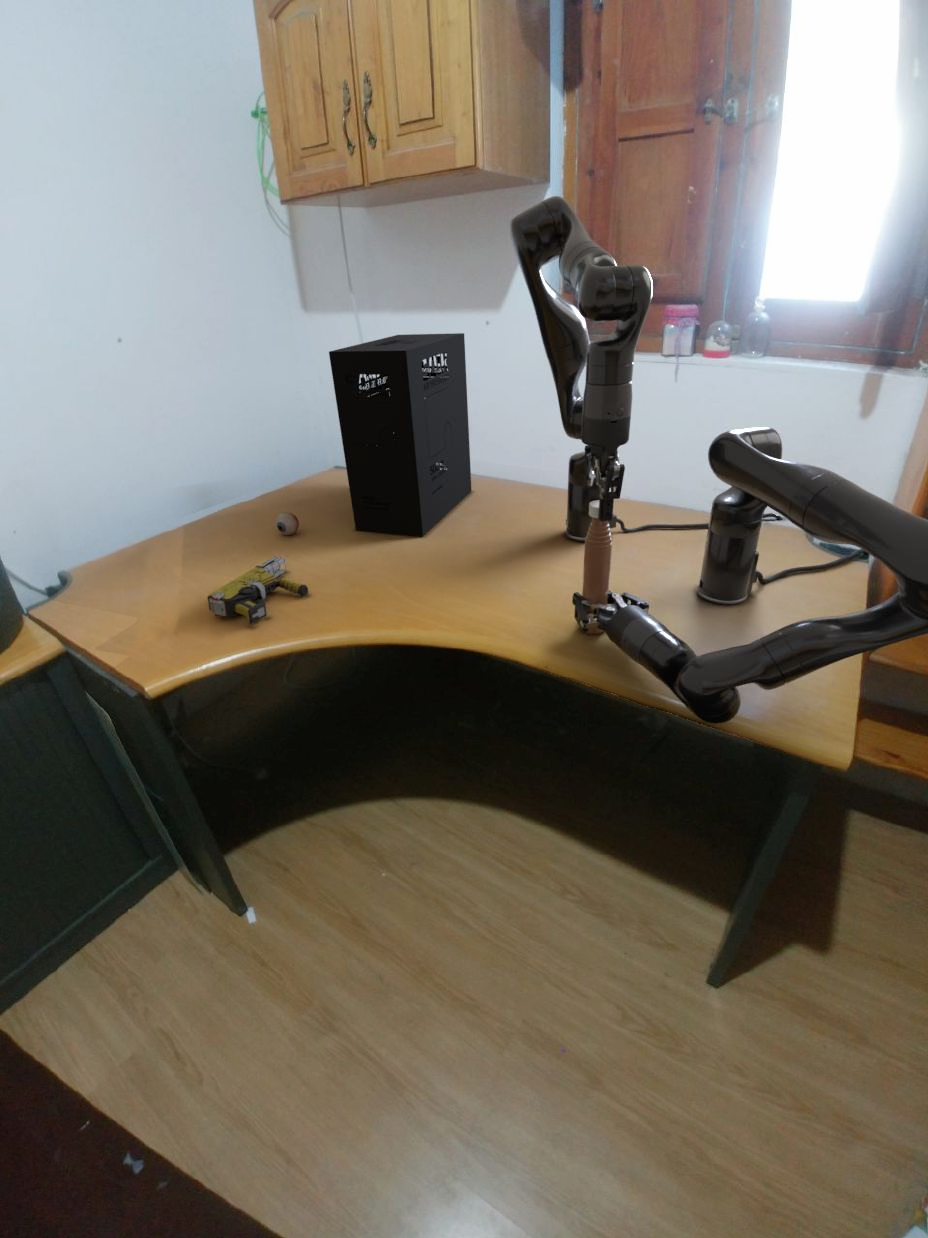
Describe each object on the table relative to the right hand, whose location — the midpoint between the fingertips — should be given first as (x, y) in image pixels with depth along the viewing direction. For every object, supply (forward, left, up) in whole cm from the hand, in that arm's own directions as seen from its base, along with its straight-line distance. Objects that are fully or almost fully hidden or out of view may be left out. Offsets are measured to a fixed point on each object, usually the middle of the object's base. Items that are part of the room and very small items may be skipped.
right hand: (587, 593), depth 114 cm
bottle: (0, +3, -6) cm, 7 cm away
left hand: (0, +3, +17) cm, 17 cm away
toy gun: (+56, -39, -6) cm, 68 cm away
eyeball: (+48, -76, -6) cm, 90 cm away
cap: (0, +3, +18) cm, 18 cm away
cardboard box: (+10, -77, -6) cm, 78 cm away
